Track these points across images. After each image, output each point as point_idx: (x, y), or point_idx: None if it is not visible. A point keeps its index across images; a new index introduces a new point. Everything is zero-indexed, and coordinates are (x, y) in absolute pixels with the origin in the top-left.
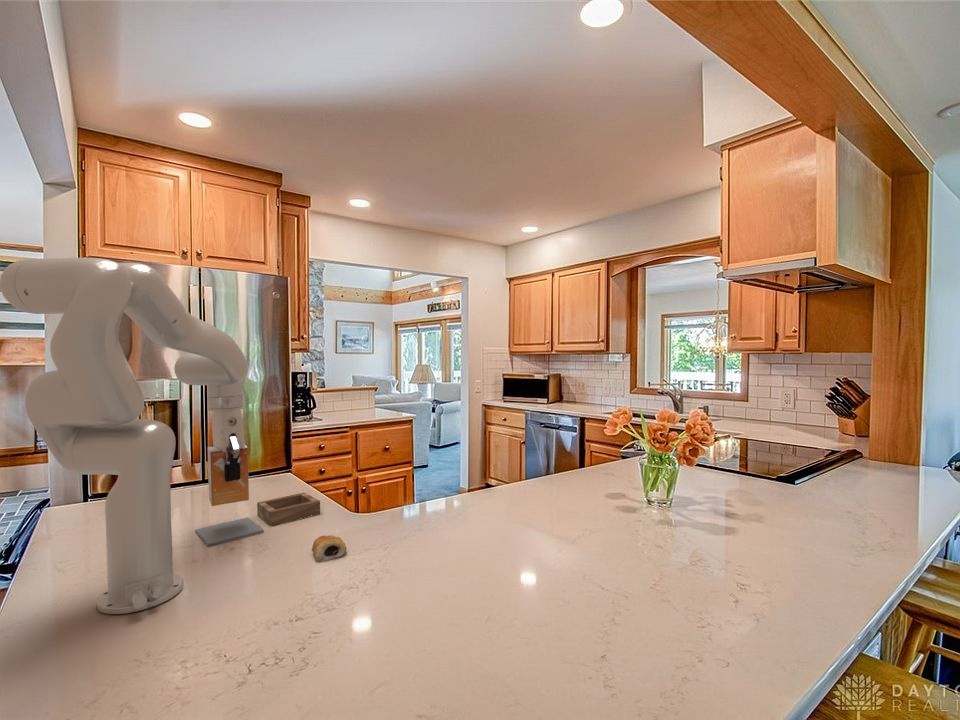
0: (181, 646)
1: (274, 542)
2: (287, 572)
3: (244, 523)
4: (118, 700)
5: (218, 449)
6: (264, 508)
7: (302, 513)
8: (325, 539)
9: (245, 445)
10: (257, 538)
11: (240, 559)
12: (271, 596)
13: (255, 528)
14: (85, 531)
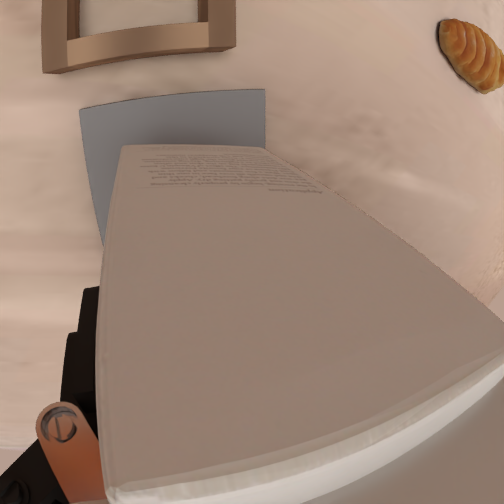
0: (484, 272)
1: (359, 96)
2: (473, 143)
3: (146, 130)
4: (488, 300)
5: None
6: (144, 52)
7: None
8: (495, 68)
9: (451, 403)
10: (298, 120)
11: (387, 190)
12: (493, 187)
13: (230, 107)
14: (18, 422)
